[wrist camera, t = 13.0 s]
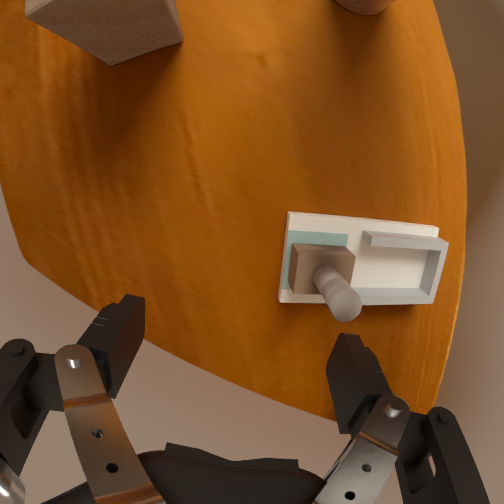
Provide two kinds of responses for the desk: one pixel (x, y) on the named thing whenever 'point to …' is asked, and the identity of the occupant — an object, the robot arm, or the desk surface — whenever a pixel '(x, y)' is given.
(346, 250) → the peg with base
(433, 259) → the docking tray
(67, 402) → the robot arm
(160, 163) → the desk surface
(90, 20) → the wooden block
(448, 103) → the desk surface
